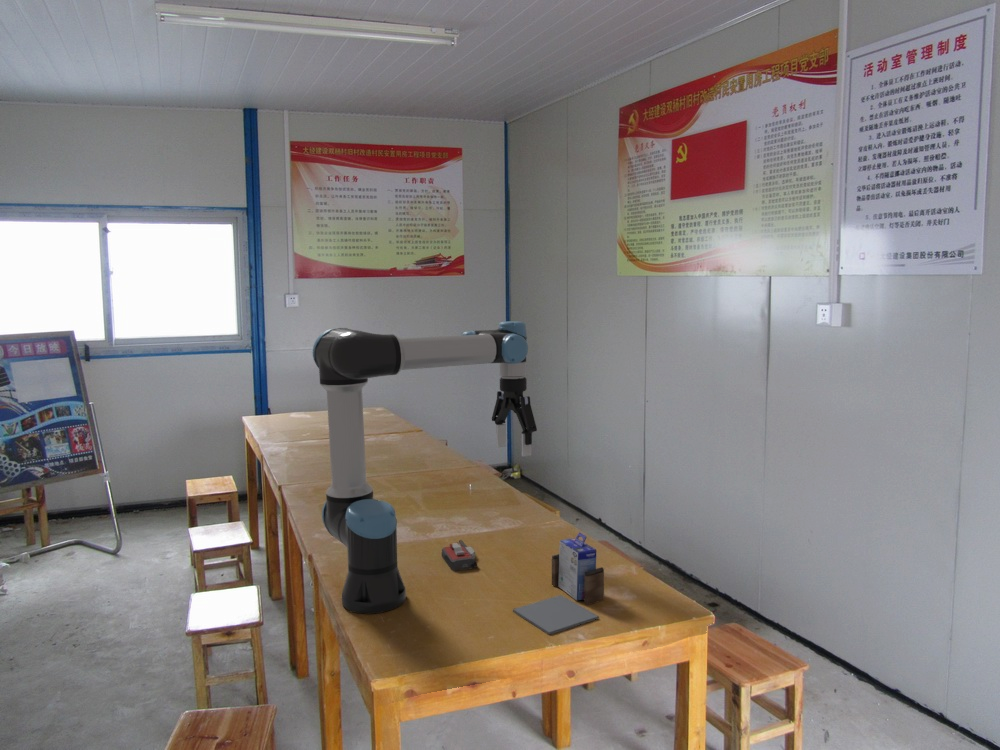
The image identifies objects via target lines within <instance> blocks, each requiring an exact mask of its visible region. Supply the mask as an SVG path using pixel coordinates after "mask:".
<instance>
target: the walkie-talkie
mask: <svg viewBox="0 0 1000 750" xmlns="http://www.w3.org/2000/svg"><path fill="white" fill-rule="evenodd" d="M441 558H442V559H443V561H444V562H445V563H446V565H448V567H449V568H450V570H451V571H454V572H456V571H462V570H463V571H464V570H469V569H470V568H471V569H475V568H477V567H478V563H477V562H476V551H475V550H474V548H473V546H468V545H466V543H465V542H464V541H463V540H462V539H459V541H458V542H453V543H450V544H449V546H445V547H443V548H442V549H441ZM471 569H470V570H471Z"/></svg>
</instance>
